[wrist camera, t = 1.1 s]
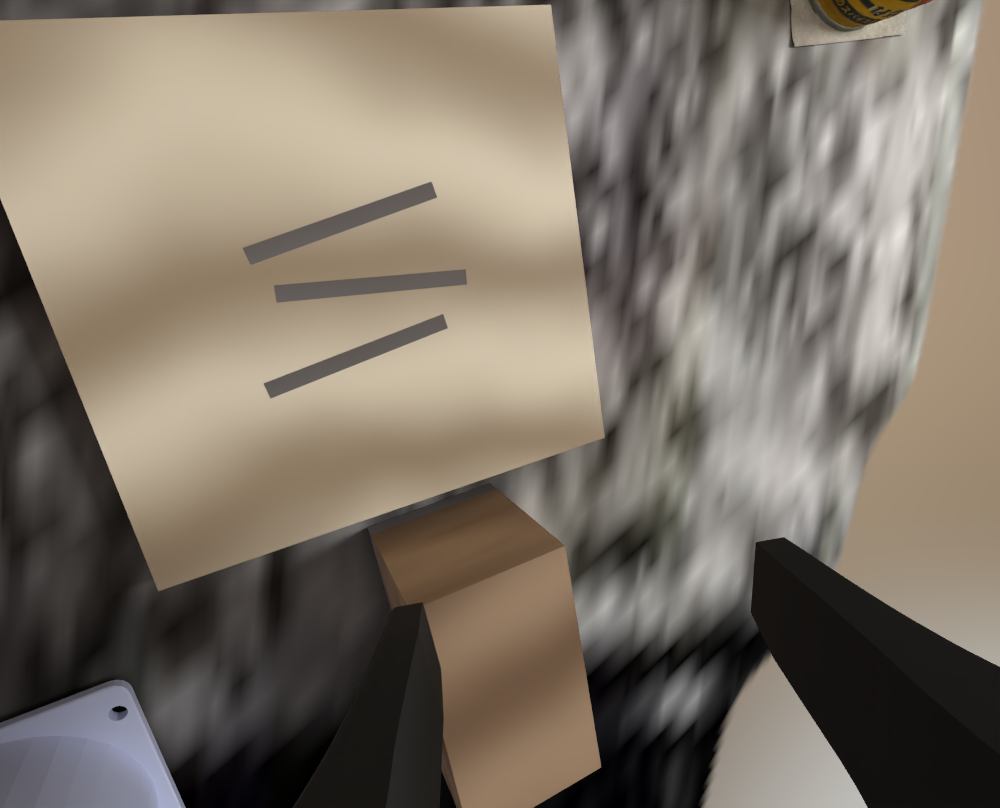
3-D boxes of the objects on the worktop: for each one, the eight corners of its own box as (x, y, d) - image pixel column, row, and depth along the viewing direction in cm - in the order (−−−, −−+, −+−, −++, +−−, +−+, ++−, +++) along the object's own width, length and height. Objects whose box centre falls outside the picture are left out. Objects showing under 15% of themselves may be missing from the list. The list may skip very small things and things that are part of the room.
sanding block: (525, 663, 26) (601, 767, 20) (419, 715, 24) (471, 843, 18) (488, 482, 23) (564, 545, 18) (367, 525, 21) (409, 610, 16)
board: (584, 428, 24) (604, 437, 23) (164, 568, 18) (158, 591, 17) (529, 23, 20) (551, 4, 18) (-42, 46, 14) (-71, 22, 13)
